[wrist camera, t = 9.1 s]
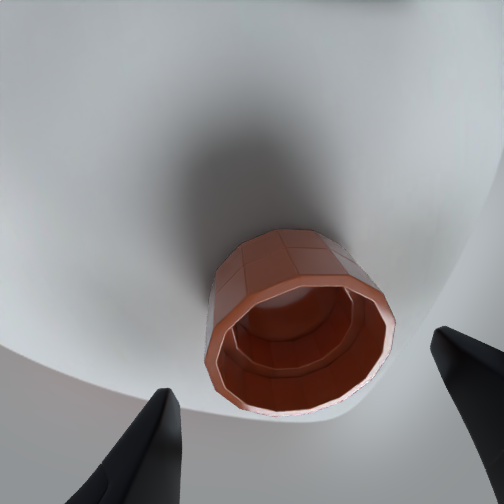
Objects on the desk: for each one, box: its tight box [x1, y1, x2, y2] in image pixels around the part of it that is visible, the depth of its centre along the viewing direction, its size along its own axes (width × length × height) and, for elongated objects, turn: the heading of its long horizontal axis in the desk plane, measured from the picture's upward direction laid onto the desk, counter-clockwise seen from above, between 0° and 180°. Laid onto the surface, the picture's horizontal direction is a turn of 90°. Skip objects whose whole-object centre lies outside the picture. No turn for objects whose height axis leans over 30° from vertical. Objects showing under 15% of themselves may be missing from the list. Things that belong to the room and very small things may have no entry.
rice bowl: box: [204, 229, 396, 417], centre depth 11 cm, size 6×7×4 cm
